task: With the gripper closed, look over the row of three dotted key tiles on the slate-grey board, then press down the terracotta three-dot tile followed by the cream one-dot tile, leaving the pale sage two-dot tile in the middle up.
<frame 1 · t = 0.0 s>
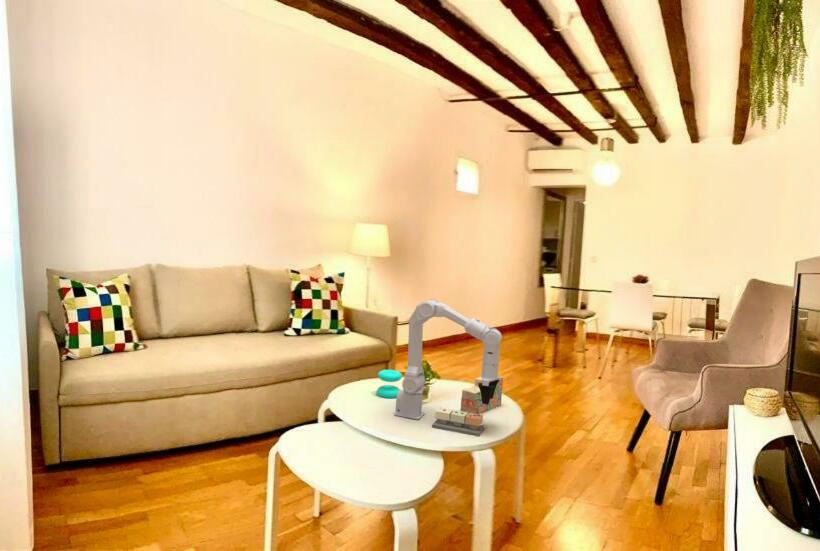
hand: (487, 401, 182), 10 cm above the table, fingers open, 7 cm apart
tile three: (474, 419, 180), point 4 cm above the table, slide at 0.0 cm
stack of blocks: (481, 409, 205), on the table
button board: (458, 427, 182), on the table
tile one: (444, 413, 183), point 4 cm above the table, slide at 0.0 cm
donuts: (388, 395, 215), on the table
tile two: (459, 416, 181), point 4 cm above the table, slide at 0.0 cm
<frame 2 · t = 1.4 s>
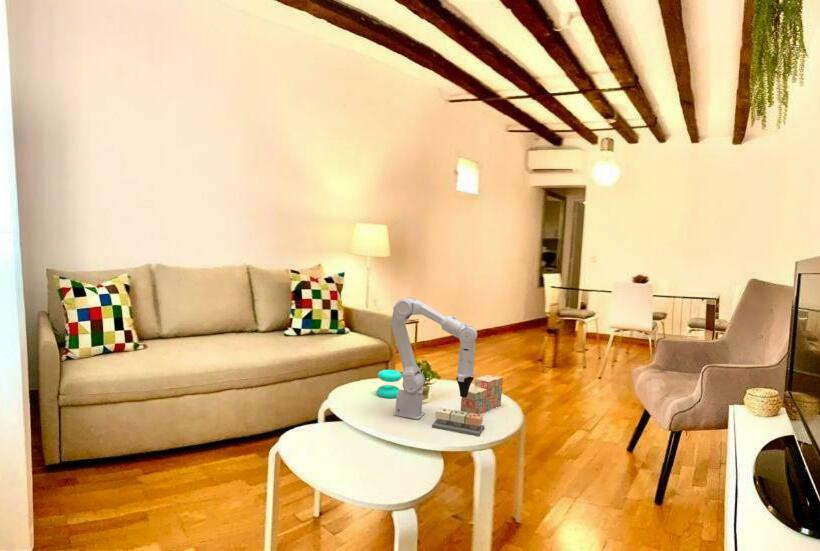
hand: (463, 396, 186), 10 cm above the table, fingers closed
nothing on the table moved.
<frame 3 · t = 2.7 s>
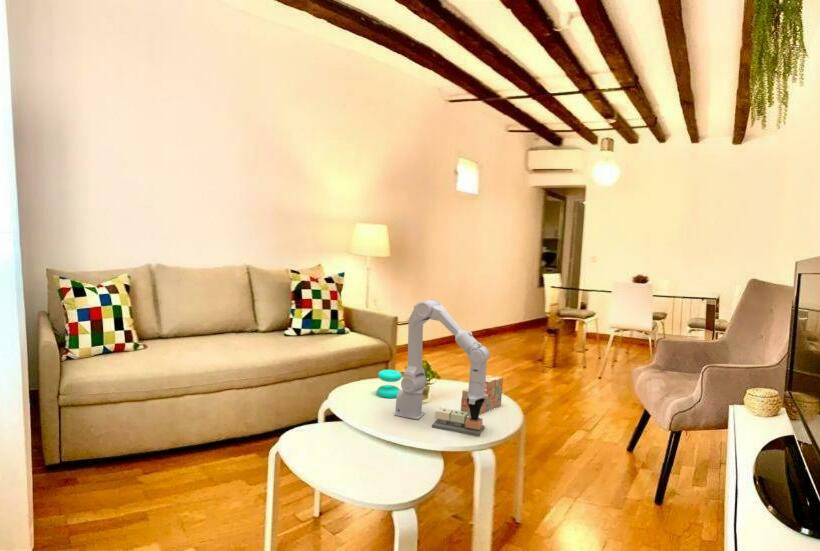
hand: (474, 419, 180), 4 cm above the table, fingers closed, pressing on tile three
tile three: (474, 422, 180), point 3 cm above the table, slide at -1.3 cm, touching gripper
everything else where it was.
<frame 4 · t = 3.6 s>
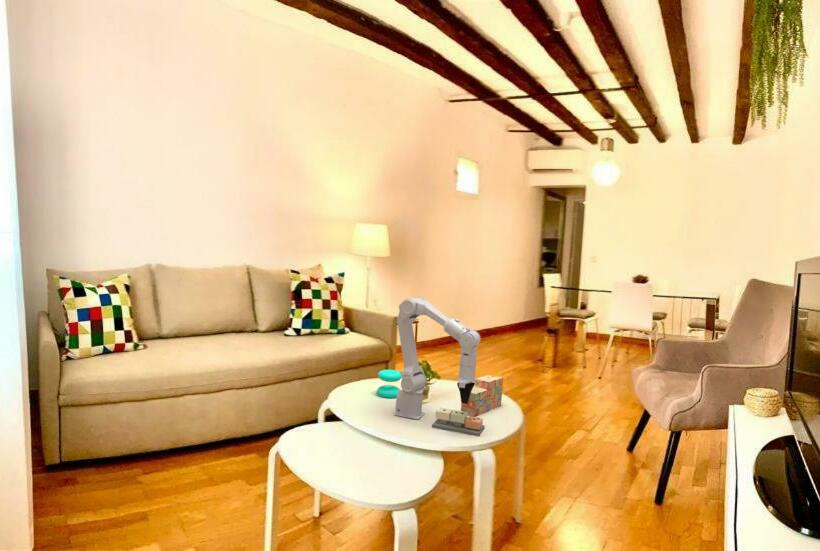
hand: (464, 403, 181), 9 cm above the table, fingers closed
tile three: (474, 422, 180), point 3 cm above the table, slide at -1.3 cm
everything else where it was.
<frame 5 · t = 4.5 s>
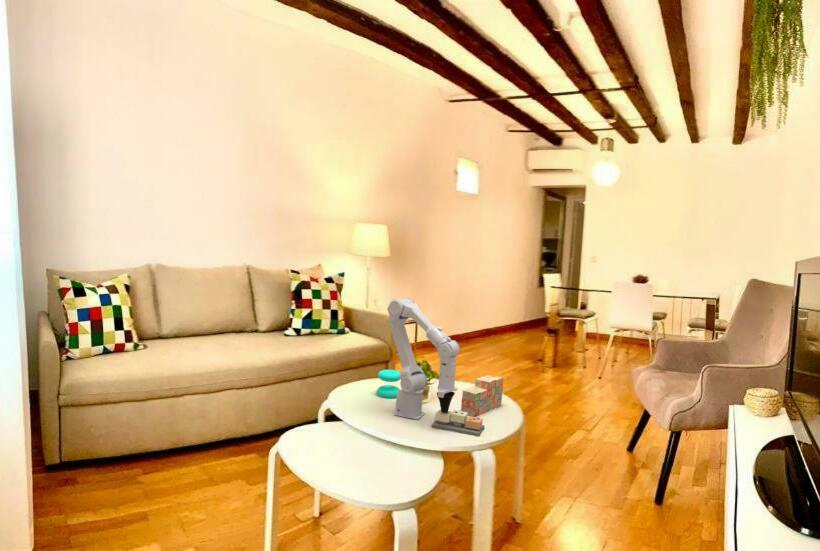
hand: (444, 412, 183), 5 cm above the table, fingers closed, pressing on tile one
tile one: (444, 415, 183), point 3 cm above the table, slide at -0.8 cm, touching gripper
everything else where it was.
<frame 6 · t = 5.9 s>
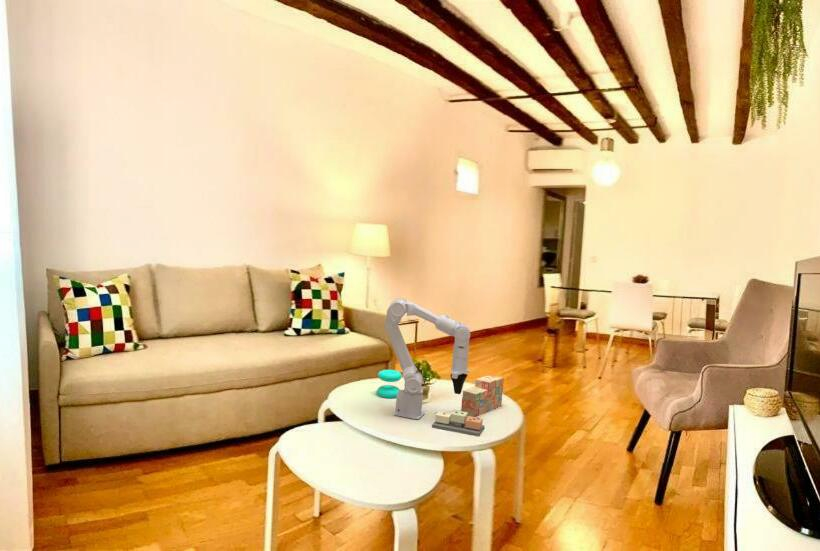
hand: (457, 393, 190), 10 cm above the table, fingers closed
tile one: (443, 417, 183), point 3 cm above the table, slide at -1.3 cm
everything else where it was.
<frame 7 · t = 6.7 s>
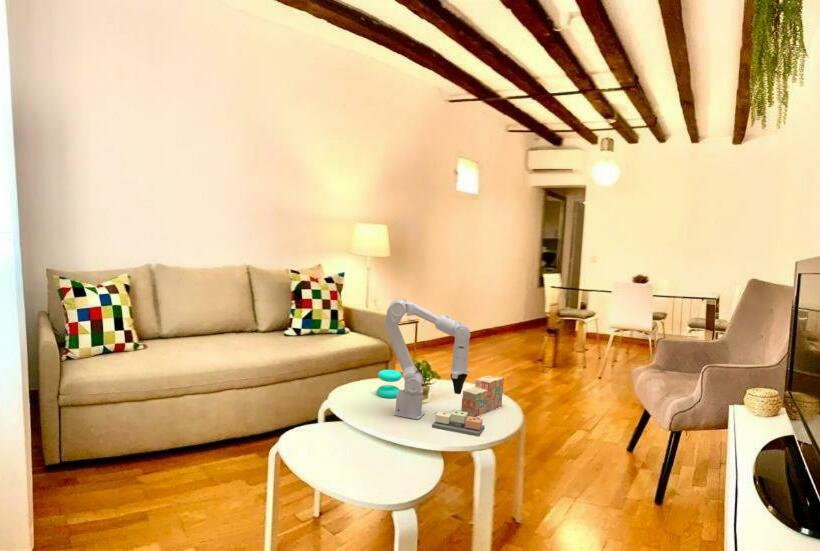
hand: (457, 393, 190), 10 cm above the table, fingers closed
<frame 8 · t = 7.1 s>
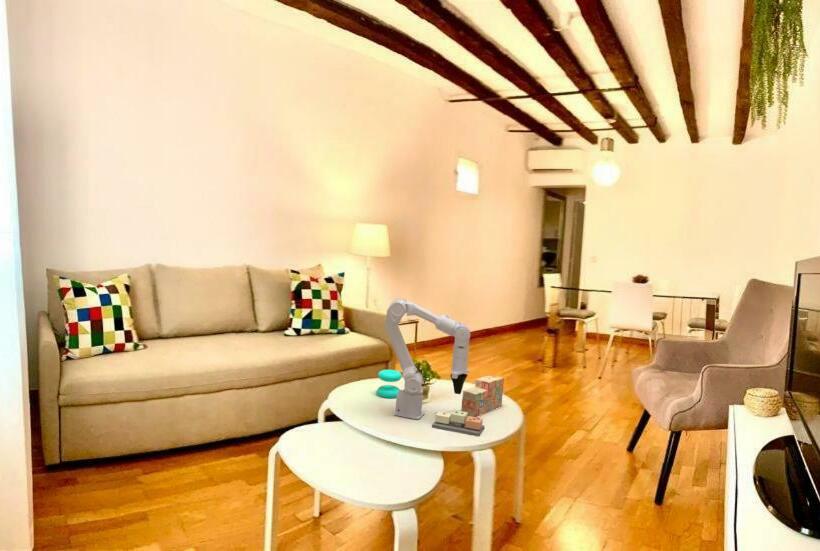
hand: (457, 393, 190), 10 cm above the table, fingers closed
at the end: tile three slide at -1.3 cm; tile one slide at -1.3 cm; tile two slide at 0.0 cm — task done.
